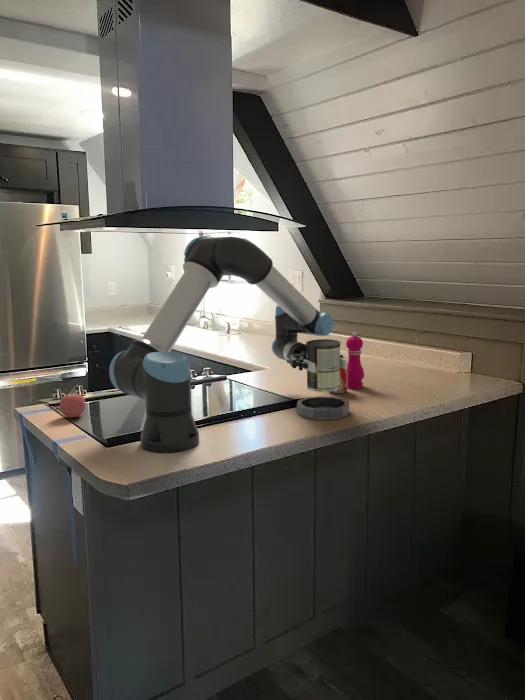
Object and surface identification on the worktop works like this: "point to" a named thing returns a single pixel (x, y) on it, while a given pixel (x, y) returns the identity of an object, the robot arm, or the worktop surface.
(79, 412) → the apple
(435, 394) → the worktop surface
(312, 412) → the ring
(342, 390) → the soda can
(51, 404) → the worktop surface
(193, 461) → the worktop surface
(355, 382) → the pepper mill
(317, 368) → the coffee can
